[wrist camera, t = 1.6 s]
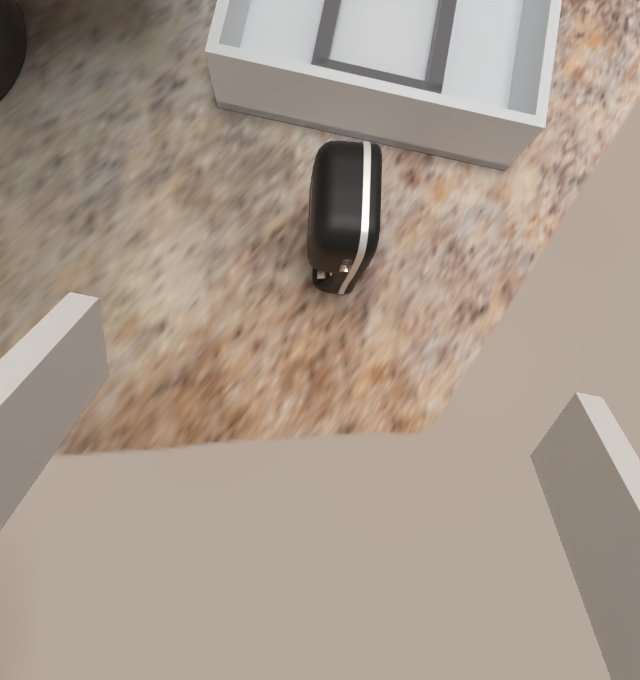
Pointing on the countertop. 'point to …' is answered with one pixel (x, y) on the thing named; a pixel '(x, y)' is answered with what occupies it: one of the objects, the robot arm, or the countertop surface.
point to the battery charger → (344, 213)
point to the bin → (392, 70)
